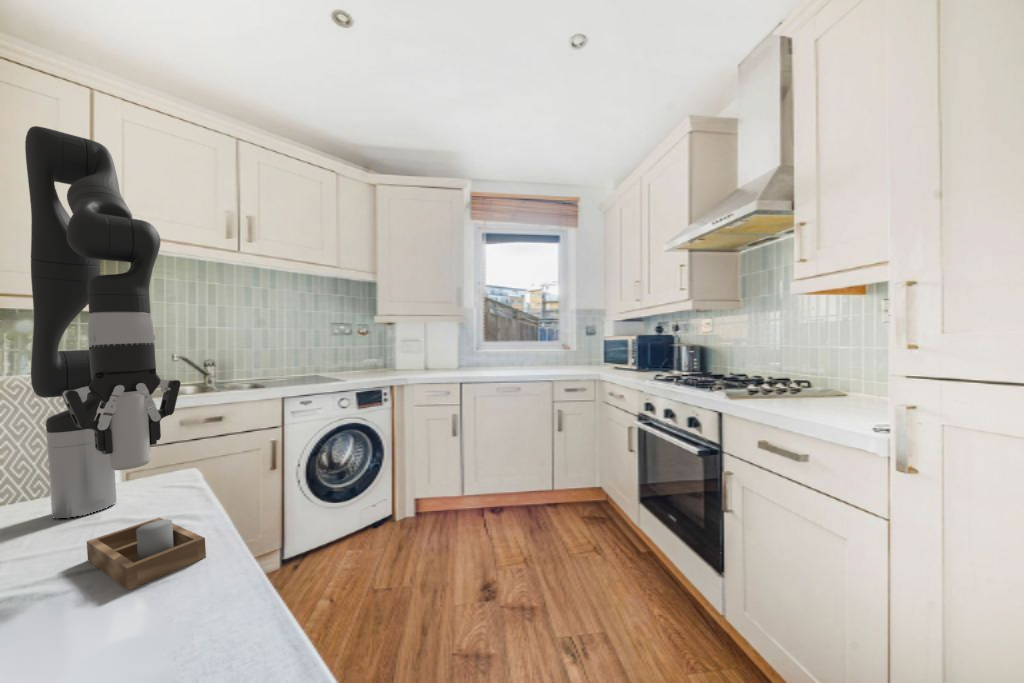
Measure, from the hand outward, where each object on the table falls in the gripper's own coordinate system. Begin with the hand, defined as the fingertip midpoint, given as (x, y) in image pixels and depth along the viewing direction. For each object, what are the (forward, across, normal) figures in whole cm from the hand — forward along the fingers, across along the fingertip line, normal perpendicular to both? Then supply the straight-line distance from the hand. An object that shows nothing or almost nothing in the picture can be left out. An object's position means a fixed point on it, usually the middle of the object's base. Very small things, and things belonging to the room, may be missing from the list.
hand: (129, 448), depth 64 cm
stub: (+17, 0, +8) cm, 19 cm away
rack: (+17, 0, +4) cm, 17 cm away
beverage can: (+3, 0, 0) cm, 3 cm away
